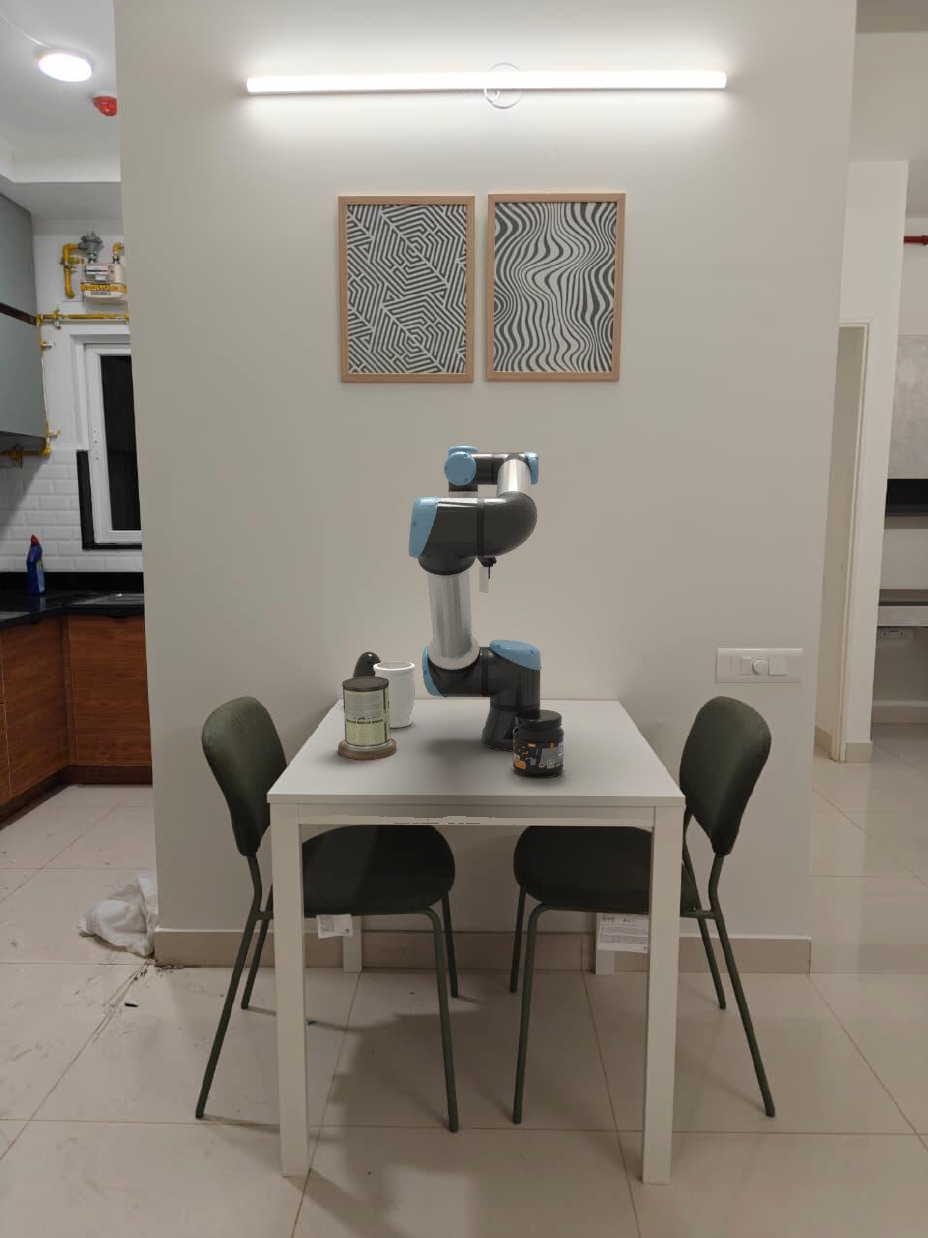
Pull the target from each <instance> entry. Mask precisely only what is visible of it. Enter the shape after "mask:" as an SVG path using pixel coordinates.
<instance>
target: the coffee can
mask: <svg viewBox="0 0 928 1238" xmlns="http://www.w3.org/2000/svg"><path fill="white" fill-rule="evenodd" d="M388 685H389V680H388V679H386V678H383V677H377V676H364V677H355V678H352V677H351V678H348V679H344V680H343V681H342V684H341V686H342V695H343V697H342V698H343V714H344V715H343V717H344V737H345V739H344V740H345V744H346V746H347V747H350V748H353V749H376V748H380V747H384V746H386V745H388V744H390V742H391V739H392V738H391V728H390V714H389V686H388ZM390 738H391V739H390Z"/></svg>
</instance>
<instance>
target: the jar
mask: <svg viewBox="0 0 928 1238" xmlns="http://www.w3.org/2000/svg"><path fill="white" fill-rule="evenodd" d="M415 669H416V664H415V663H412V662H407V661H399V660H398V661H397V660H395V661H385V662H381V663H378V664H375V665H374V671H375V672H376V674H375V676H377V677H383V678H386V679H388V680H389V685H388V686H389V714H390V729H397V728H405V727H408V726H410V725H411V724H412V722H413V721H412V719H411V715H412V713H413V710H414V706H415V705H414V704H415V699H416V679H415V674H414V671H415Z"/></svg>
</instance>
